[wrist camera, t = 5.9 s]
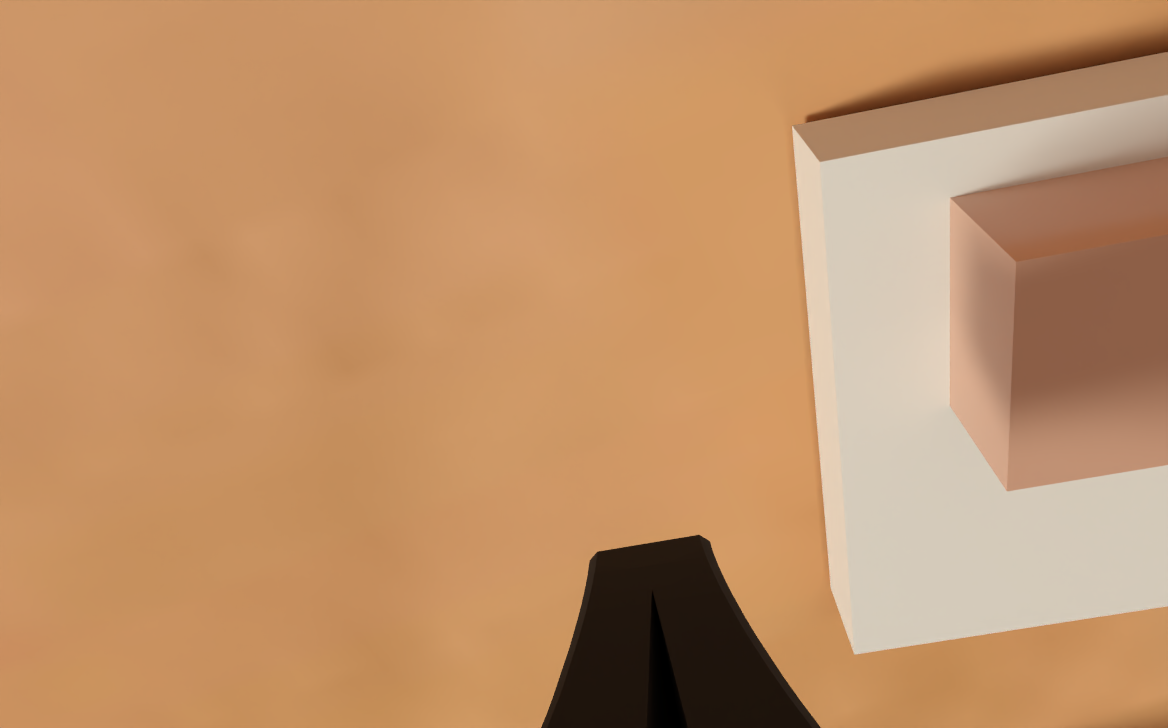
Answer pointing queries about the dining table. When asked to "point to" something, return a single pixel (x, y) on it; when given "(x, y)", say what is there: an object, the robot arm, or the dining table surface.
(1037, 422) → the terracotta tile
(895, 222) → the white board
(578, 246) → the dining table surface
